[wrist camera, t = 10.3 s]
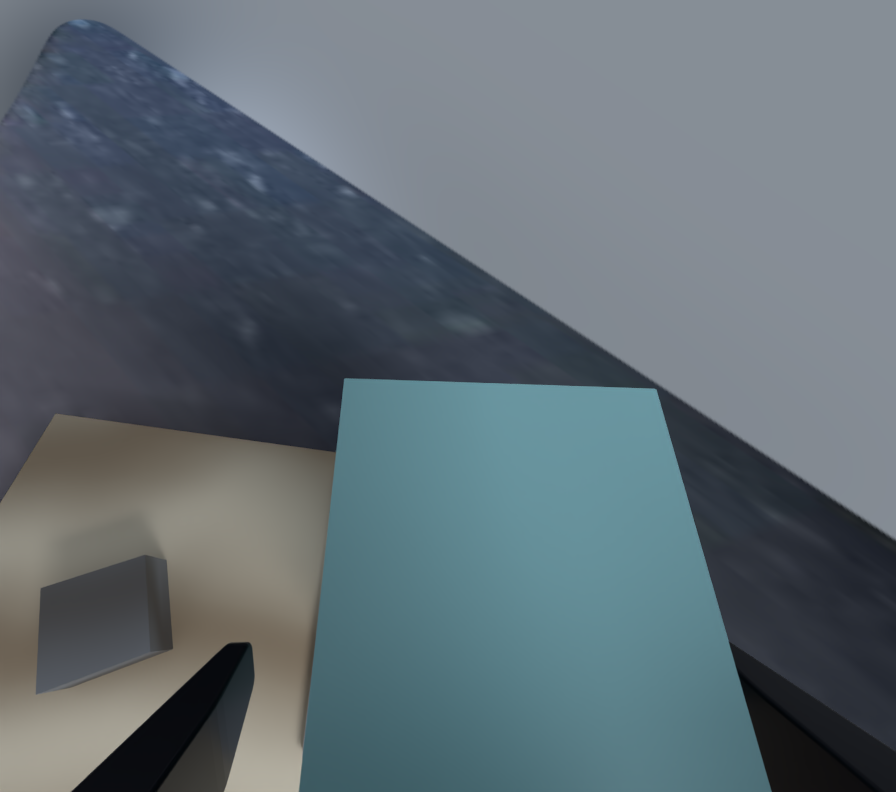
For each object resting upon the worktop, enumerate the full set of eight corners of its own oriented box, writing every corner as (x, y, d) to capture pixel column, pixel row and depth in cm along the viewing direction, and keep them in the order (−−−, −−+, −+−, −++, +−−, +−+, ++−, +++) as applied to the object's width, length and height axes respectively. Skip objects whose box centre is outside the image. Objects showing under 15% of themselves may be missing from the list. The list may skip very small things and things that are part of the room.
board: (635, 1044, 12) (700, 1160, 10) (-235, 970, 11) (-427, 1076, 9) (600, 499, 20) (630, 481, 17) (79, 428, 19) (28, 396, 16)
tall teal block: (524, 679, 15) (773, 794, 5) (366, 685, 14) (294, 827, 4) (510, 519, 17) (655, 388, 7) (375, 519, 17) (344, 378, 7)
